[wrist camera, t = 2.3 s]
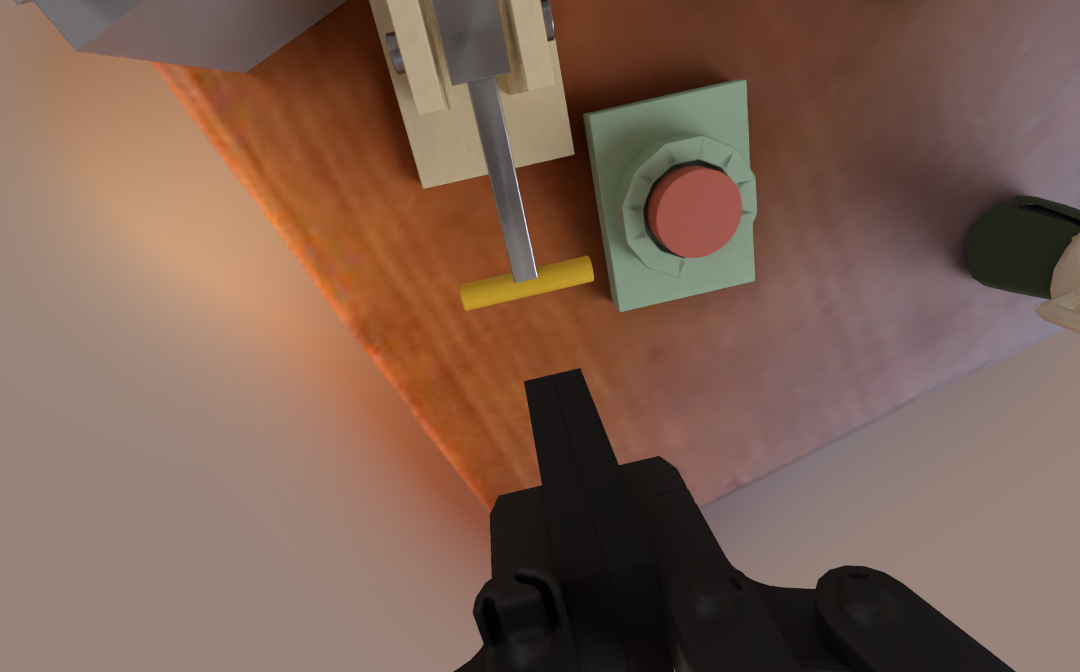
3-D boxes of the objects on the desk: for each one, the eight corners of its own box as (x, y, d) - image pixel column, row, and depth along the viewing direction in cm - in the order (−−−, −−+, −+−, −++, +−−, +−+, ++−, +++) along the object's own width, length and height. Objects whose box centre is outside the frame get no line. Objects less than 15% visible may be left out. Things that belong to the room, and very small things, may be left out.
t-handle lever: (587, 271, 26) (598, 290, 24) (465, 299, 26) (465, 320, 24) (539, -22, 21) (548, -30, 18) (383, 13, 20) (373, 8, 18)
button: (641, 175, 30) (651, 179, 28) (726, 156, 30) (740, 159, 29) (652, 258, 32) (661, 266, 30) (731, 240, 32) (744, 247, 30)
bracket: (571, 153, 33) (624, 180, 21) (424, 186, 32) (395, 232, 21) (529, -90, 28) (568, -230, 16) (357, -52, 28) (268, -166, 16)
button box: (582, 113, 32) (595, 115, 28) (731, 80, 32) (764, 77, 28) (612, 302, 37) (627, 324, 33) (741, 272, 37) (771, 291, 33)
